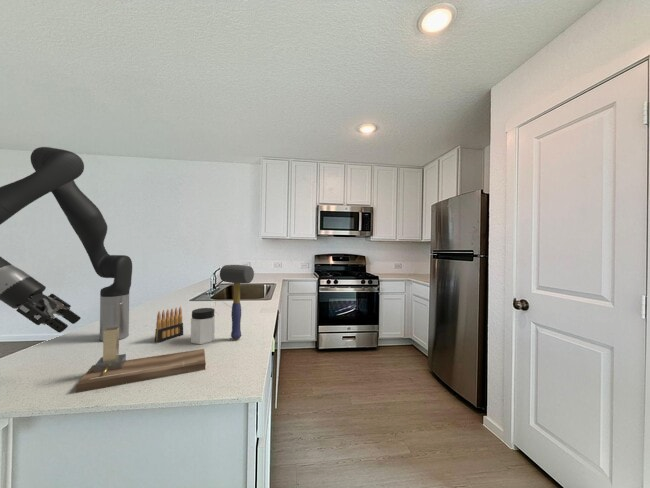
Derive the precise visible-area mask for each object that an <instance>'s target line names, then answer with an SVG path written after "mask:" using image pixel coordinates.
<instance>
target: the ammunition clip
mask: <svg viewBox="0 0 650 488" xmlns="http://www.w3.org/2000/svg"><path fill="white" fill-rule="evenodd" d="M181 336H184V323H183V310H182V307H181V306H179V308H178V307H175V309H174V308H171V309H170V310H169V309H168V308H167V310H166V312H165V310H164V309H163V310H162V312H160V310H159V311H158V312H157V316H156V324H155V335H154V343H156V344H159V343H163V342H165V341H168V340H172V339H175V338H177V337H181Z"/></svg>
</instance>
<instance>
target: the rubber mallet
mask: <svg viewBox="0 0 650 488" xmlns="http://www.w3.org/2000/svg"><path fill="white" fill-rule="evenodd" d="M254 275H255V270H254V268H253V267H252V266H250V265H249V266H248V265H242V264H225V265H223V266H222V267H221V268H220V270H219V277H220V280H221V281H222V282H225V283H229V284H233V297H232V299H233V302H232V306H231V314H230V315H231V333H230V338H231V339H232V340H233V341H238V340H240V338H241V337H242V332H241V331H242V330H241V322H242V321H241V319H242V305H241V284H249V283H251V282H252V281H253V280H254V277H255V276H254Z"/></svg>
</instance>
